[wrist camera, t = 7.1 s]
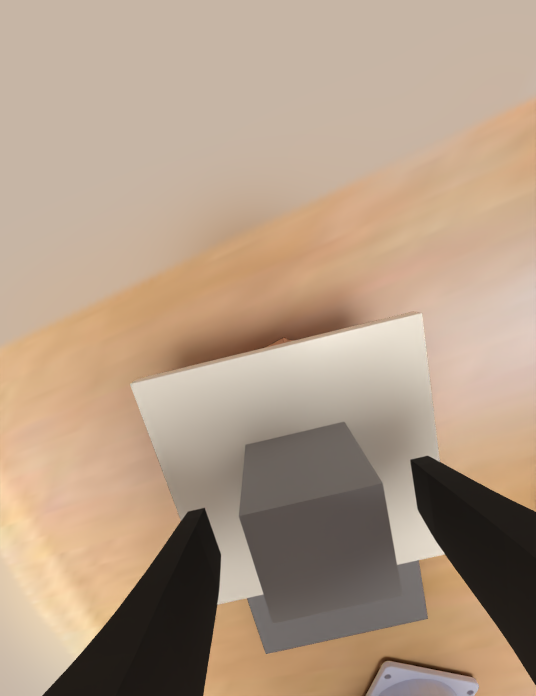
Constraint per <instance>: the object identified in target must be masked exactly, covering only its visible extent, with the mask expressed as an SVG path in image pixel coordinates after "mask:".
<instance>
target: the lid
mask: <svg viewBox="0 0 536 696" xmlns="http://www.w3.org/2000/svg"><path fill="white" fill-rule="evenodd" d="M130 386H131V388H132V391H133V394H134V396H135V399H136V402H137V404H138V407H139V410H140V412H141V415H142V418H143V420H144V423H145V426H146V428H147V431H148V434H149V436H150V439H151V442H152V444H153V447H154V450H155V452H156V455H157V458H158V461H159V463H160V466H161V469H162V471H163V474H164V477H165V479H166V482H167V485H168V487H169V490H170V493H171V495H172V498H173V501H174V503H175V506H176V509H177V511H178V514H179V517H180V519H181V520H182V519H183V518H184V516H185V515H186V513H187V512H188V511H192V510H197V509H201V508H205V510H206V513H207V516H208V518H209V521H210V524H211V527H212V530H213V533H214V535H215V538H216V541H217V544H218V547H219V550H220V553H221V570H220V587H219V596H218V603H217V605H218V604H223V603H227V602H232V601H236V600H241V599H245V598H250V597H254V596H259V595H264V597H265V601H266V604H267V607H268V610H269V613H270V616H271V619H272V623H273V624H274V623H279V622H283V621H288V620H293V619H297V618H302V617H306V616H311V615H315V614H320V613H325V612H329V611H334V610H338V609H343V608H347V607H352V606H357V605H361V604H366V603H370V602H375V601H379V600H384V599H389V598H393V597H398V596H402V590H401V584H400V579H399V573H398V567H397V565H399V564H404V563H408V562H413V561H417V560H422V559H426V558H431V557H435V556H440V555H444V554H445V553H444V552H443V551H442V549H441V548H440V546H439V545H438V544H437V542H436V541H435V539H434V537H433V536H432V534H431V532H430V530H429V529H428V527H427V525H426V524H425V522H424V520H423V518H422V517H421V515H420V513H419V511H418V509H417V503H416V496H415V490H414V483H413V476H412V470H411V463H410V460H411V459H415V458H419V457H424V456H430V457H432V458H433V459H435V460H437V461H439V462H440V459H439V451H438V442H437V434H436V426H435V418H434V409H433V401H432V393H431V384H430V376H429V368H428V359H427V351H426V343H425V334H424V326H423V318H422V313H419V312H409V313H405V314H401V315H397V316H393V317H389V318H385V319H381V320H376V321H372V322H368V323H364V324H360V325H356V326H352V327H348V328H344V329H340V330H335V331H331V332H327V333H323V334H319V335H315V336H311V337H307V338H303V339H299V340H294V341H290V342H286V343H282V344H278V345H274V346H270V347H266V348H262V349H258V350H253V351H249V352H245V353H241V354H237V355H233V356H229V357H225V358H221V359H217V360H212V361H208V362H204V363H200V364H196V365H192V366H188V367H184V368H180V369H176V370H171V371H167V372H163V373H159V374H155V375H151V376H147V377H143V378H139V379H136V380H135V381H133V382H132V383H131V384H130Z"/></svg>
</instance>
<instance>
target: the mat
mask: <svg viewBox="0 0 536 696" xmlns="http://www.w3.org/2000/svg"><path fill="white" fill-rule="evenodd" d="M397 567H398V573H399V579H400V584H401V590H402V596H398V597H393V598H389V599H384V600H379V601H375V602H370V603H366V604H361V605H357V606H352V607H347V608H343V609H338V610H334V611H329V612H325V613H320V614H315V615H311V616H306V617H302V618H297V619H293V620H288V621H283V622H279V623H274V624H273V623H272V619H271V616H270V613H269V610H268V607H267V604H266V601H265V597H264V595H259V596H254V597H250V598H247V600H248V603H249V606H250V609H251V612H252V614H253V617H254V620H255V623H256V626H257V629H258V632H259V635H260V638H261V641H262V644H263V647H264V650H265V653H266V654H269V653H273V652H278V651H282V650H287V649H292V648H296V647H301V646H305V645H310V644H314V643H319V642H324V641H328V640H333V639H337V638H342V637H346V636H351V635H356V634H360V633H365V632H369V631H374V630H379V629H383V628H388V627H392V626H397V625H401V624H406V623H411V622H415V621H420V620H424V619H428V616H427V610H426V604H425V597H424V591H423V584H422V578H421V572H420V565H419V560H417V561H413V562H408V563H404V564H399V565H397Z"/></svg>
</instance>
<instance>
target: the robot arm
mask: <svg viewBox="0 0 536 696" xmlns="http://www.w3.org/2000/svg"><path fill="white" fill-rule="evenodd" d="M410 463H411V470H412V476H413V483H414V490H415V496H416V503H417V509H418V511H419V513H420V515H421V517H422V518H423V520H424V522H425V524H426V525H427V527H428V529H429V530H430V532H431V534H432V536H433V537H434V539H435V541H436V542H437V544H438V545H439V546H440V548H441V549H442V551H443V552H444V553H445V555H446V556H447V558H448V559H449V560H450V562H451V563H452V565H453V566H454V567H455V569H456V570H457V571H458V573H459V574H460V576H461V577H462V578H463V580H464V581H465V582H466V584H467V585H468V587H469V588H470V589H471V591H472V592H473V593H474V595H475V596H476V598H477V599H478V600H479V602H480V603H481V604H482V606H483V607H484V609H485V610H486V611H487V613H488V614H489V615H490V617H491V618H492V620H493V621H494V622H495V624H496V625H497V627H498V628H499V629H500V631H501V632H502V634H503V635H504V637H505V638H506V640H507V641H508V643H509V644H510V646H511V647H512V649H513V650H514V652H515V653H516V655H517V656H518V658H519V660H520V661H521V663H522V664H523V666H524V668H525V669H526V671H527V672H528V674H529V675H530V677H531V679H532V680H533V682H534V683H535V685H536V512H535V511H533V510H531V509H529V508H526V507H524V506H522V505H520V504H518V503H516V502H514V501H512V500H510V499H508V498H506V497H504V496H502V495H500V494H498V493H496V492H494V491H492V490H490V489H489V488H487V487H485V486H483V485H481V484H479V483H477V482H475V481H474V480H472V479H470V478H468V477H466V476H464V475H463V474H461V473H459V472H457V471H455V470H453V469H452V468H450V467H448V466H446V465H444V464H443V463H441V462H439V461H437V460H435V459H433V458H432V457H430V456H424V457H419V458H415V459H411V460H410ZM220 570H221V553H220V550H219V547H218V544H217V541H216V538H215V535H214V533H213V530H212V527H211V524H210V521H209V518H208V516H207V513H206V510H205V508H201V509H197V510H192V511H188V512H187V513H186V515H185V516H184V518H183V519H182V520H181V522H180V523H179V525H178V526H177V528H176V529H175V531H174V532H173V534H172V535H171V537H170V538H169V539H168V541H167V542H166V544H165V545H164V547H163V548H162V550H161V551H160V552H159V554H158V555H157V557H156V558H155V560H154V561H153V562H152V564H151V565H150V567H149V568H148V570H147V571H146V572H145V574H144V575H143V576H142V578H141V579H140V580H139V582H138V583H137V584H136V586H135V587H134V588H133V590H132V591H131V592H130V594H129V595H128V596H127V598H126V599H125V600H124V602H123V603H122V604H121V606H120V607H119V608H118V609H117V611H116V612H115V613H114V615H113V616H112V617H111V618H110V620H109V621H108V622H107V623H106V624H105V626H104V627H103V628H102V629H101V631H100V632H99V633H98V634H97V635H96V636H95V638H94V639H93V640H92V641H91V642H90V643H89V645H88V646H87V647H86V648H85V649H84V650H83V652H82V653H81V654H80V655H79V656H78V657H77V659H76V660H75V661H74V662H73V663H72V664H71V665H70V666H69V668H68V669H67V670H66V671H65V672H64V673H63V674H62V675H61V676H60V677H59V678H58V679H57V680H56V681H55V683H54V684H53V685H52V686H51V687H50V688H49V689H48V690H47V691H46V692H45V693H44V695H43V696H203V693H204V686H205V680H206V673H207V667H208V661H209V654H210V648H211V642H212V635H213V629H214V623H215V616H216V609H217V603H218V596H219V587H220ZM478 688H479V685H478V683H477V681H476V679H475V678H473V677H469V676H464V675H459V674H454V673H449V672H444V671H439V670H434V669H429V668H423V667H418V666H413V665H408V664H403V663H398V662H393V661H385V662H384V663H383V664H382V666H381V668H380V670H379V672H378V673H377V675H376V677H375V679H374V681H373V683H372V685H371V687H370V689H369V690H368V692H367V694H366V696H474V695H475V693H476V692H477V690H478Z"/></svg>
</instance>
